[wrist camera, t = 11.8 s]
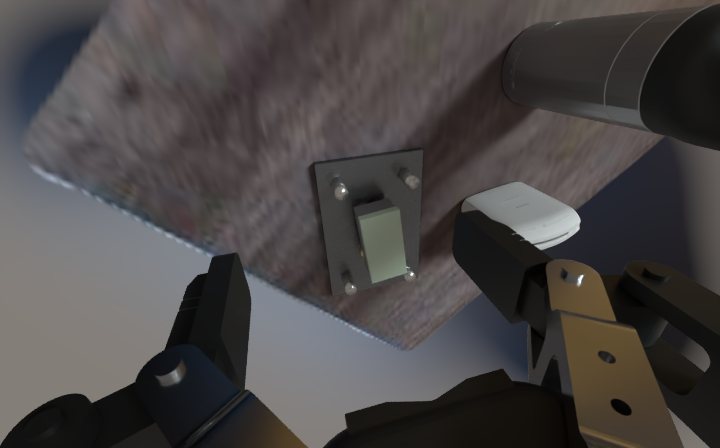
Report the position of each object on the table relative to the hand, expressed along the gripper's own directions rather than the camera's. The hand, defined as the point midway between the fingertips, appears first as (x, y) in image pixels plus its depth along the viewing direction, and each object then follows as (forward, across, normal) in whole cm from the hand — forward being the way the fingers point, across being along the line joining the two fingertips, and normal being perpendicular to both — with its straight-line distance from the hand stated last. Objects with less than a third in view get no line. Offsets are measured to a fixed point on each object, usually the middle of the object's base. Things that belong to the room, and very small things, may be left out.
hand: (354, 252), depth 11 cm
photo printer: (+28, -27, +15) cm, 42 cm away
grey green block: (+26, -8, +16) cm, 32 cm away
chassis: (+28, -8, +16) cm, 33 cm away
